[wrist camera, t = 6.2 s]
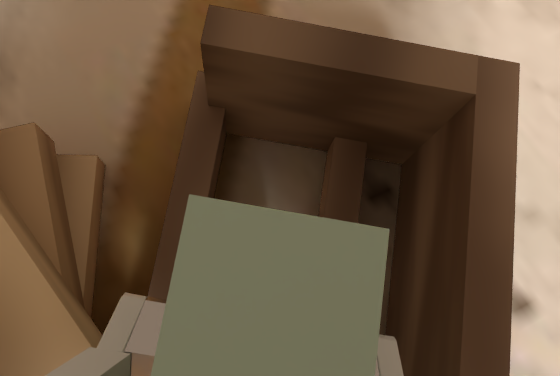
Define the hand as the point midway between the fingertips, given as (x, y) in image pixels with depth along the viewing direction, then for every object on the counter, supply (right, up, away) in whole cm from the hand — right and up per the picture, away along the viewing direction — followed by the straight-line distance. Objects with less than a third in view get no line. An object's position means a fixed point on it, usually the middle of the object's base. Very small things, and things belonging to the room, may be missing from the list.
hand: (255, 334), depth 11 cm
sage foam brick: (-1, -4, +11) cm, 11 cm away
